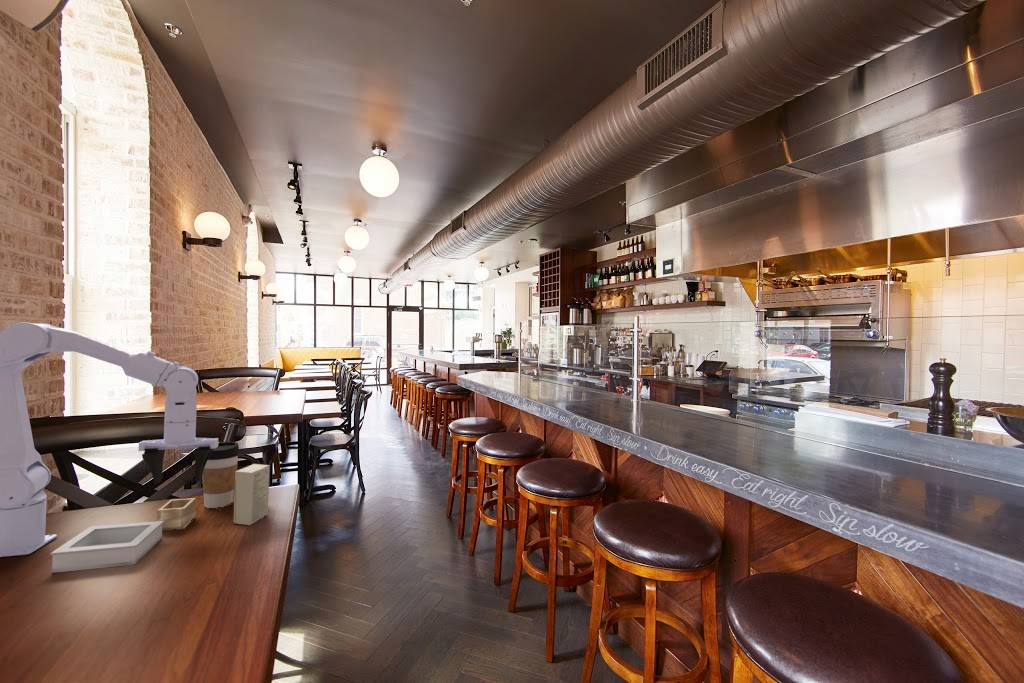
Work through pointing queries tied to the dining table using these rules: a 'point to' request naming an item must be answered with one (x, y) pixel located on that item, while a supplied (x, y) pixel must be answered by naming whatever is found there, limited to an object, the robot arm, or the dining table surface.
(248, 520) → the skincare box
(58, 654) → the dining table surface
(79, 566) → the white square tray
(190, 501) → the birch crate
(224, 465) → the coffee cup
